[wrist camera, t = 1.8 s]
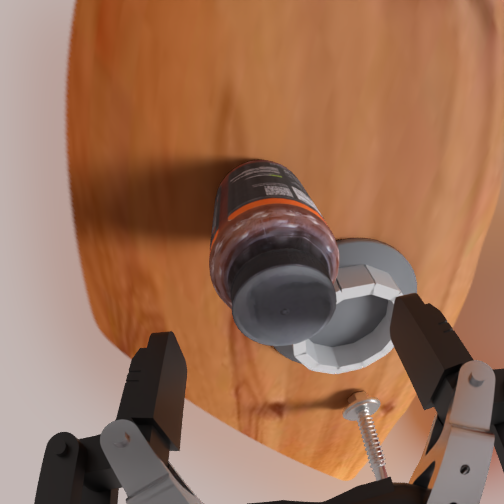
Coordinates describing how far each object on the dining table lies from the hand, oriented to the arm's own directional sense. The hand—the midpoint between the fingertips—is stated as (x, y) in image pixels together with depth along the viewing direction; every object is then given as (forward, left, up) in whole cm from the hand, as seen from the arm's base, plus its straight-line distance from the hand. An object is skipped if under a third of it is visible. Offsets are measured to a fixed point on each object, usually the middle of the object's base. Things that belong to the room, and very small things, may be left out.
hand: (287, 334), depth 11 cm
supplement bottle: (0, 0, -12) cm, 12 cm away
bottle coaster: (+11, +6, -12) cm, 17 cm away
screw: (+27, +9, -12) cm, 31 cm away
